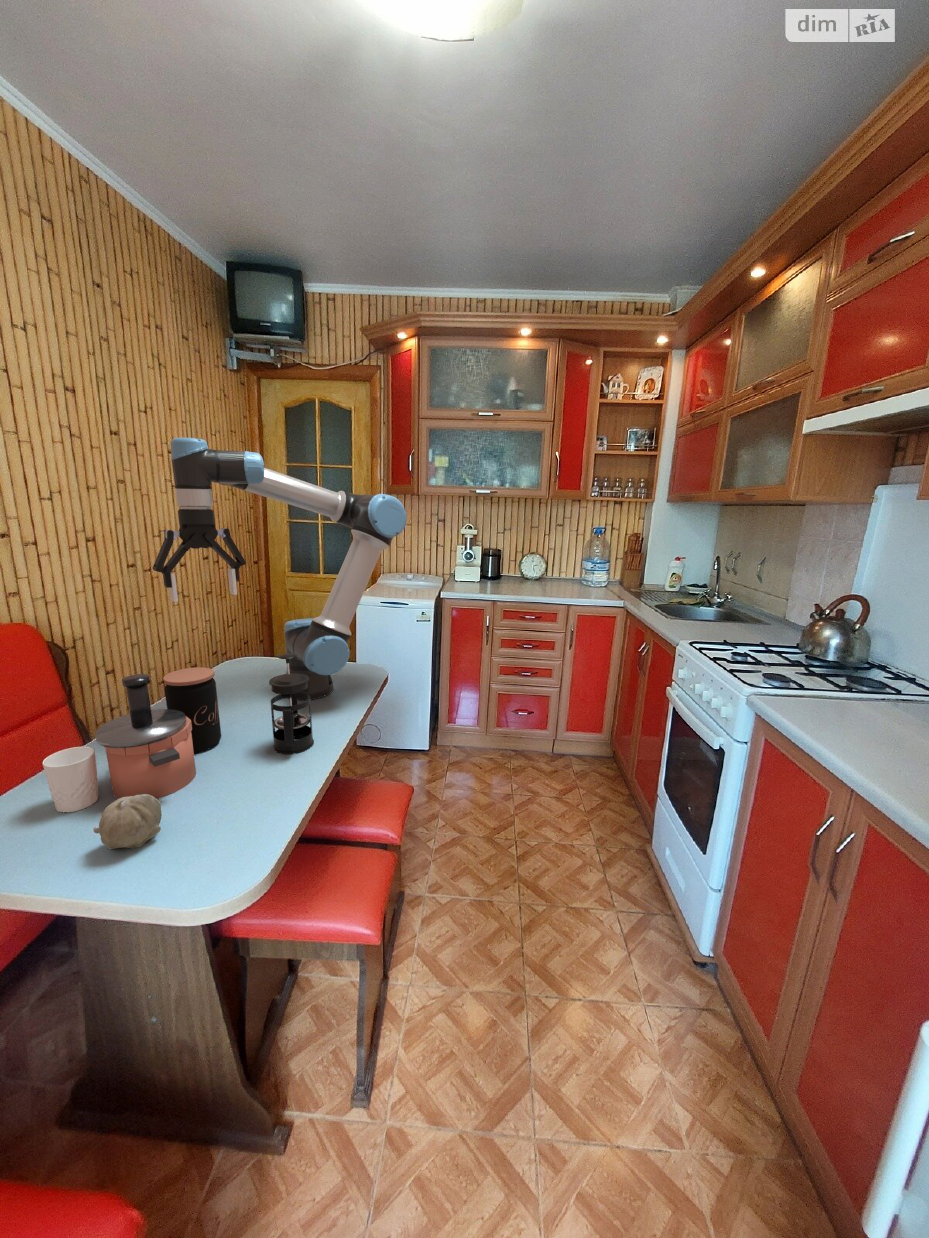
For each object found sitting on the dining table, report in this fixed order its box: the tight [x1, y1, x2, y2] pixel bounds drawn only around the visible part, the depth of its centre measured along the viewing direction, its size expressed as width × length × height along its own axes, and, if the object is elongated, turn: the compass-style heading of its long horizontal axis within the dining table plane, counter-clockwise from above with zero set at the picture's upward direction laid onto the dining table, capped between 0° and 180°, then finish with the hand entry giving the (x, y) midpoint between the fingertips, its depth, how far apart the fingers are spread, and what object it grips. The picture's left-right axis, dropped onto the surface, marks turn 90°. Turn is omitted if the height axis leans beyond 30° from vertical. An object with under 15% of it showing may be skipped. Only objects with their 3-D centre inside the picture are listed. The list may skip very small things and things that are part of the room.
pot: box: [104, 716, 197, 800], centre depth 104 cm, size 21×15×12 cm
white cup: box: [42, 746, 100, 814], centre depth 96 cm, size 8×8×10 cm
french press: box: [268, 652, 315, 755], centre depth 119 cm, size 12×9×23 cm
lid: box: [94, 673, 187, 748], centre depth 101 cm, size 16×16×13 cm
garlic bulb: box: [93, 794, 163, 850], centre depth 85 cm, size 9×8×10 cm
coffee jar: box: [162, 666, 222, 754], centre depth 119 cm, size 11×11×18 cm
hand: (205, 597), depth 122 cm, fingers open, 13 cm apart
